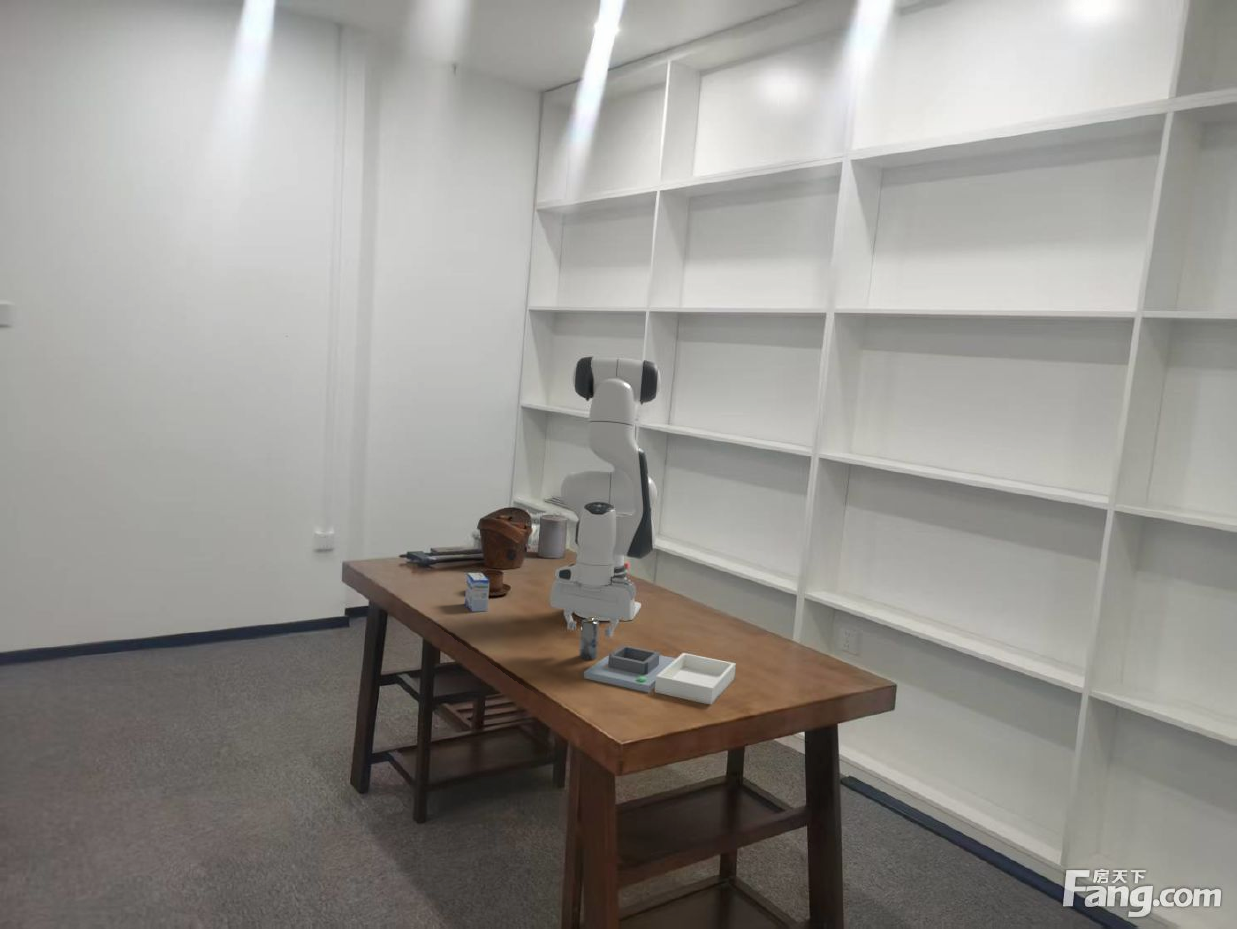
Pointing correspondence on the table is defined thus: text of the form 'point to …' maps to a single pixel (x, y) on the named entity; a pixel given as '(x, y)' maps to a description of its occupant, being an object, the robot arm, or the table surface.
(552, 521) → the pillar candle
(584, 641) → the cell
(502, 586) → the cup and saucer
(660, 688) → the tray
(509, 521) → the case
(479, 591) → the medicine box
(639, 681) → the tester cradle
